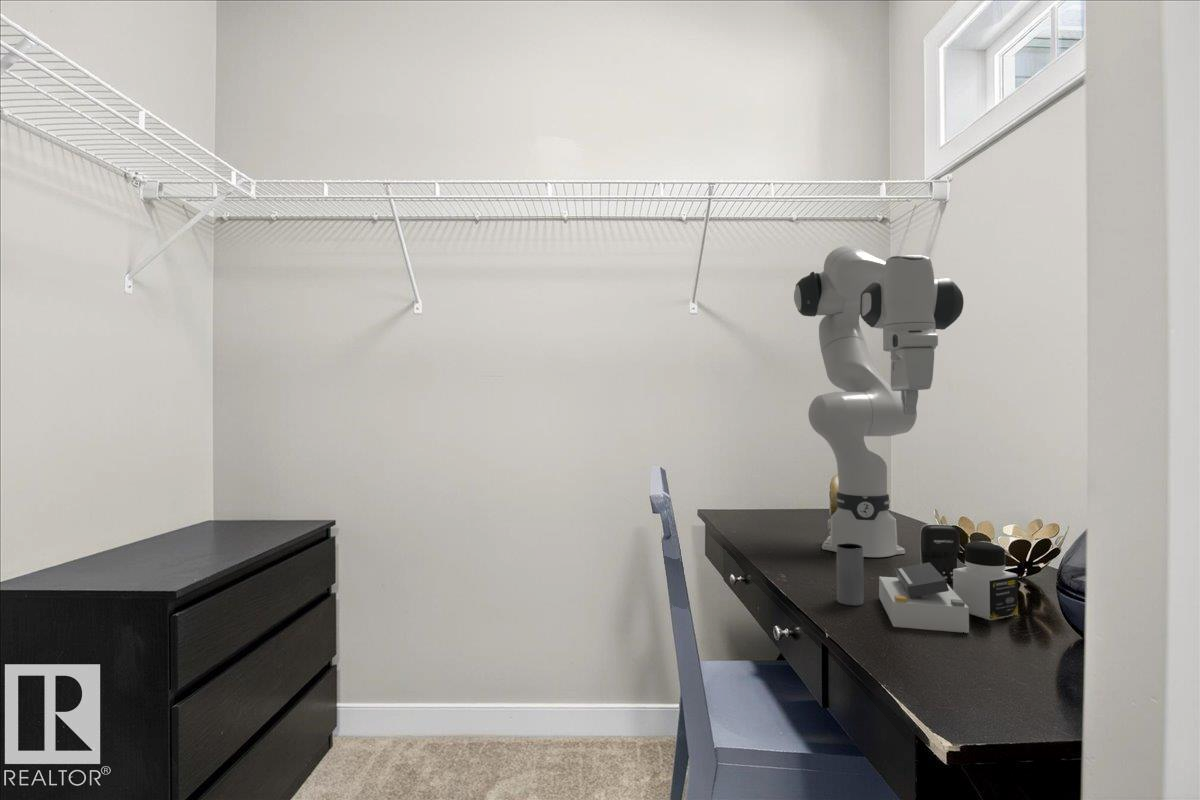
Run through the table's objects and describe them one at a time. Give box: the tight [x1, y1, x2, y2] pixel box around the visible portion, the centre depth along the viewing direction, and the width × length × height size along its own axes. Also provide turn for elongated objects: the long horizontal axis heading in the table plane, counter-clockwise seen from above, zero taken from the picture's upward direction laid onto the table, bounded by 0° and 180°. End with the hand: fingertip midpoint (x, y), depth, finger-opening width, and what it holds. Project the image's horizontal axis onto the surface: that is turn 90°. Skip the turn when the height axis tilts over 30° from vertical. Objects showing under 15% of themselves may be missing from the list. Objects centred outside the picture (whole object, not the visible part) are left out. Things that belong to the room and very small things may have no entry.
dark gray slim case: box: [894, 562, 949, 598], centre depth 112 cm, size 12×6×2 cm, turn 164°
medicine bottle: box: [952, 540, 1019, 621], centre depth 113 cm, size 7×7×12 cm
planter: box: [836, 543, 864, 607], centre depth 118 cm, size 4×4×10 cm
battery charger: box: [919, 523, 961, 583], centre depth 132 cm, size 7×4×11 cm, turn 81°
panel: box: [878, 575, 970, 634], centre depth 112 cm, size 16×11×5 cm
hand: (909, 415), depth 120 cm, fingers closed
